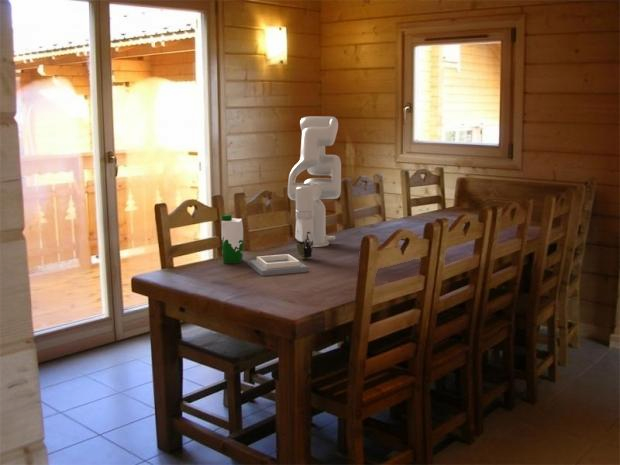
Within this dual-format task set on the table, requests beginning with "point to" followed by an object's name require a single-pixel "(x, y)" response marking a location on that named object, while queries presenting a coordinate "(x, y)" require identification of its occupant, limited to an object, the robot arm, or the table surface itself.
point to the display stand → (277, 265)
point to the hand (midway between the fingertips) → (304, 255)
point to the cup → (302, 249)
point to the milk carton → (232, 239)
